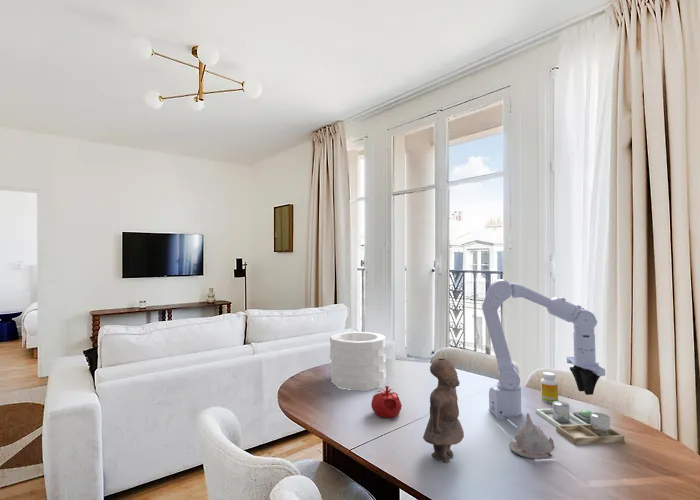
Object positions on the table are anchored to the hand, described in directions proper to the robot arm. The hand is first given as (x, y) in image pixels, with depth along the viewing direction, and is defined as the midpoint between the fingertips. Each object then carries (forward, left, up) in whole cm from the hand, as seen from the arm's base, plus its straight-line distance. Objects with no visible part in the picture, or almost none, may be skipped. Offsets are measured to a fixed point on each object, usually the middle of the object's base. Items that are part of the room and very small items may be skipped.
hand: (585, 392), depth 117 cm
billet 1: (-8, +1, -9) cm, 12 cm away
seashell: (-25, -14, -10) cm, 30 cm away
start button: (0, 0, -8) cm, 8 cm away
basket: (-66, +49, -10) cm, 83 cm away
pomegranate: (-60, +13, -10) cm, 62 cm away
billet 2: (-3, -10, -8) cm, 13 cm away
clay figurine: (-50, -15, -10) cm, 53 cm away
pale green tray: (-8, +1, -9) cm, 12 cm away
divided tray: (-7, -10, -9) cm, 15 cm away
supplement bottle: (0, +19, -10) cm, 21 cm away
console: (0, 0, -9) cm, 9 cm away
